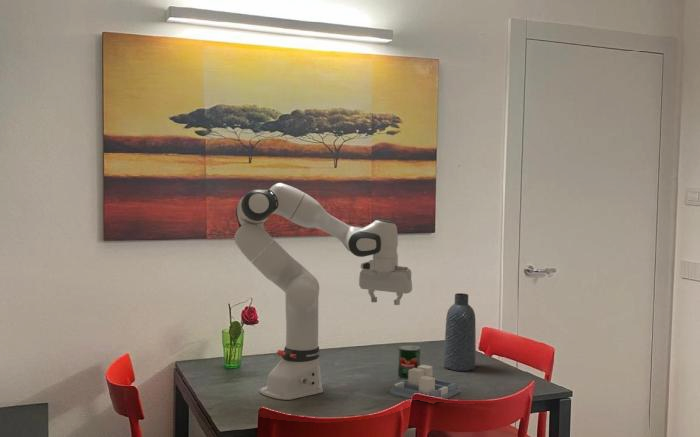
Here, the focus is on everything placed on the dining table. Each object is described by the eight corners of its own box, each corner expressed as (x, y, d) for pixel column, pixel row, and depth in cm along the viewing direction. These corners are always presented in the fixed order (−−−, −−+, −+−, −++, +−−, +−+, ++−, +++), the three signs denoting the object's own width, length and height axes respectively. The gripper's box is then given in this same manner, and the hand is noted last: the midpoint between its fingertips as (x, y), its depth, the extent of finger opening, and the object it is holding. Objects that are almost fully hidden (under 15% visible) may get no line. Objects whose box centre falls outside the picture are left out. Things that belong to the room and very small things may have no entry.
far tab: (426, 385, 269) (427, 368, 268) (417, 383, 271) (417, 366, 271) (432, 383, 271) (432, 366, 271) (422, 381, 274) (423, 364, 273)
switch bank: (433, 404, 253) (433, 394, 252) (390, 393, 263) (390, 384, 263) (460, 392, 266) (460, 383, 266) (418, 382, 276) (418, 374, 276)
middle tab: (417, 389, 264) (418, 371, 264) (408, 386, 267) (408, 369, 266) (423, 387, 267) (423, 369, 266) (413, 384, 269) (414, 367, 269)
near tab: (428, 397, 255) (429, 379, 254) (418, 395, 257) (419, 377, 257) (434, 395, 258) (435, 377, 257) (424, 393, 260) (424, 375, 260)
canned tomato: (401, 380, 279) (402, 350, 278) (394, 374, 287) (395, 345, 286) (422, 379, 281) (423, 349, 280) (415, 373, 289) (415, 344, 288)
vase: (474, 363, 304) (476, 292, 301) (476, 372, 292) (478, 297, 289) (443, 362, 305) (445, 291, 303) (443, 370, 293) (445, 296, 290)
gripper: (415, 266, 273) (415, 305, 274) (366, 261, 284) (366, 299, 285) (406, 268, 268) (406, 308, 269) (356, 264, 279) (356, 302, 280)
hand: (385, 303), depth 277 cm, fingers open, 8 cm apart
